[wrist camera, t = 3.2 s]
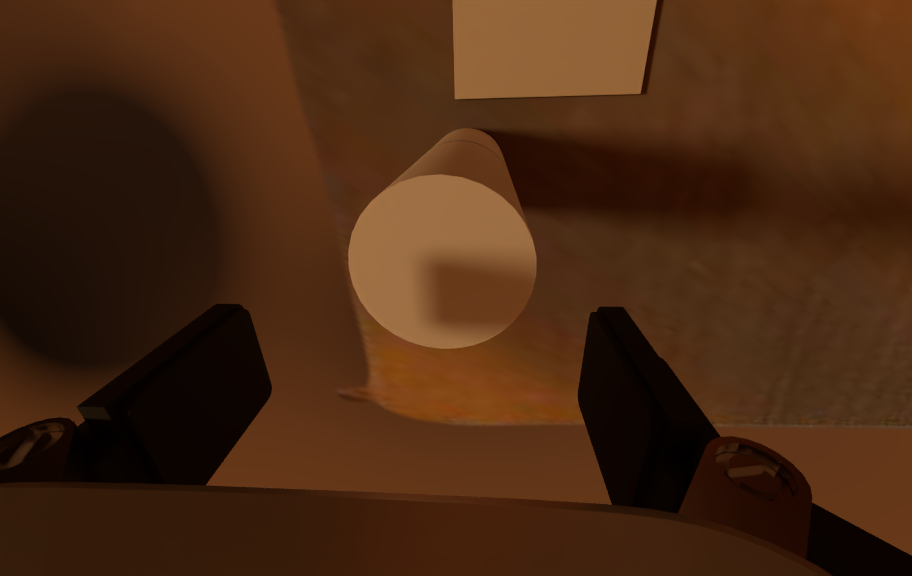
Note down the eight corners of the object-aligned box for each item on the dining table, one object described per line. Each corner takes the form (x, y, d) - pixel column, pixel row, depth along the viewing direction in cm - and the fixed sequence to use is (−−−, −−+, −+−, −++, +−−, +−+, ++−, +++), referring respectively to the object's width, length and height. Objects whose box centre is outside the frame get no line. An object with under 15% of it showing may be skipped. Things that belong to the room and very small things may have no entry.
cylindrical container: (479, 111, 34) (472, 130, 12) (517, 179, 37) (569, 300, 14) (416, 155, 36) (309, 241, 14) (456, 216, 39) (419, 373, 16)
